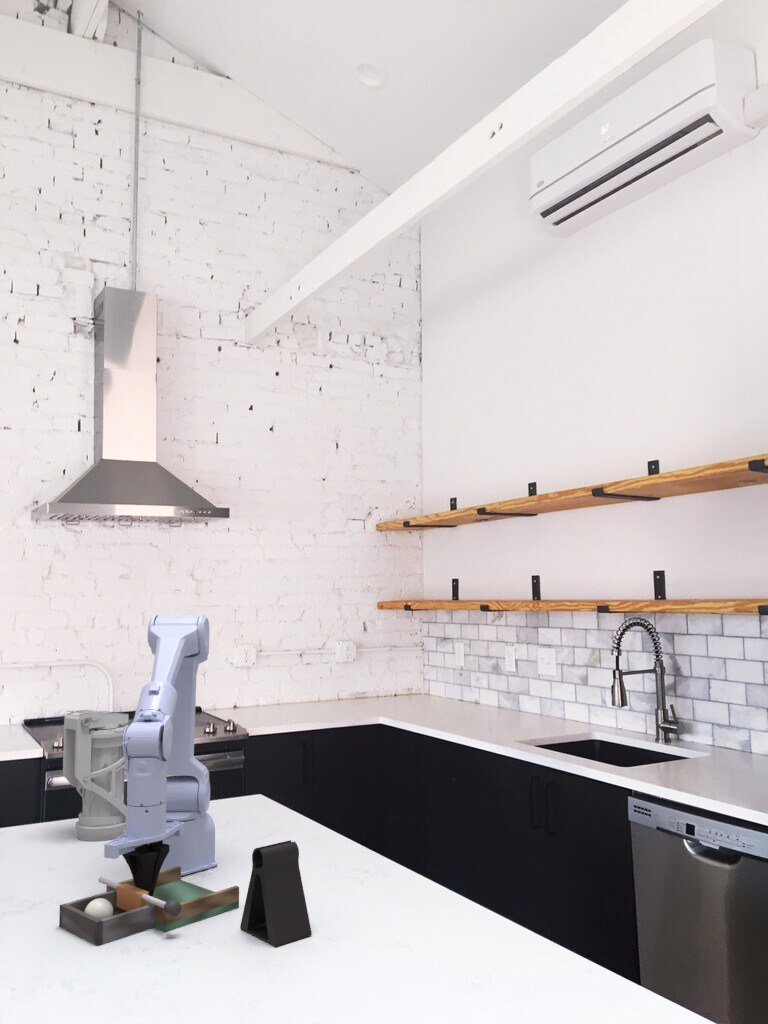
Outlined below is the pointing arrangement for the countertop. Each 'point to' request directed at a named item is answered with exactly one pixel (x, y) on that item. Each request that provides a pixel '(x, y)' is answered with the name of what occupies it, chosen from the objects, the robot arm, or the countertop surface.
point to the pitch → (147, 909)
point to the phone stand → (276, 896)
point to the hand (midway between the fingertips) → (145, 896)
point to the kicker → (139, 898)
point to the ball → (99, 908)
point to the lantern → (96, 771)
